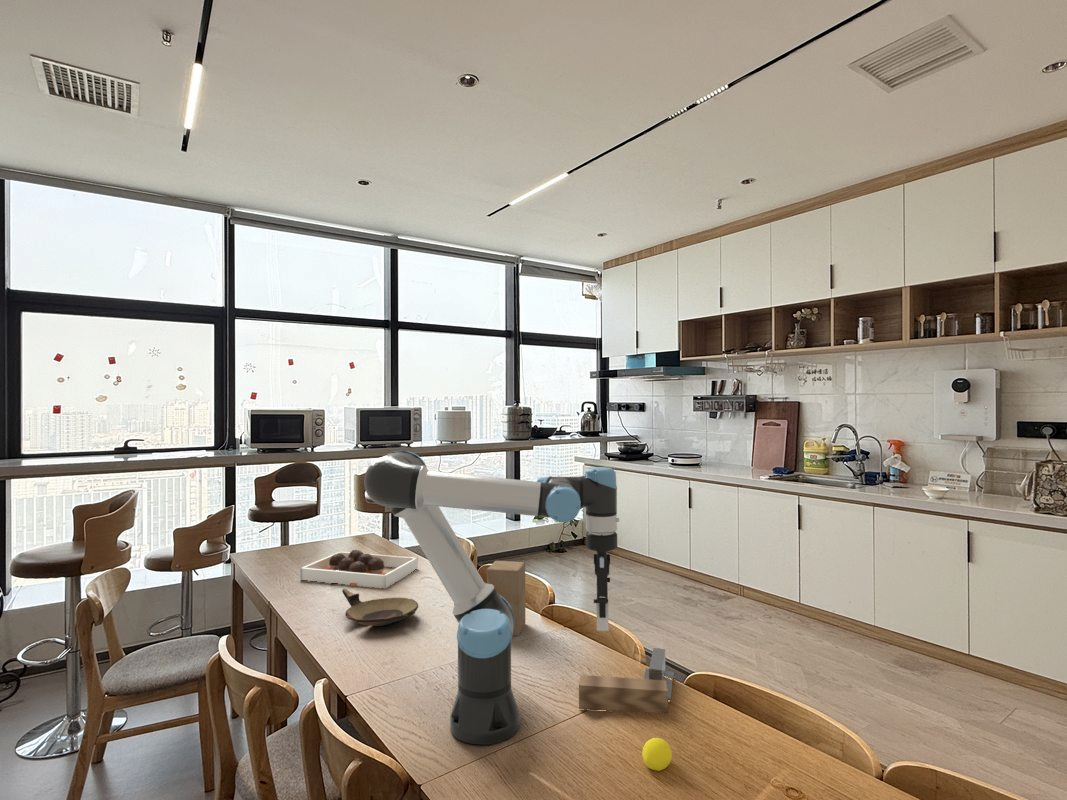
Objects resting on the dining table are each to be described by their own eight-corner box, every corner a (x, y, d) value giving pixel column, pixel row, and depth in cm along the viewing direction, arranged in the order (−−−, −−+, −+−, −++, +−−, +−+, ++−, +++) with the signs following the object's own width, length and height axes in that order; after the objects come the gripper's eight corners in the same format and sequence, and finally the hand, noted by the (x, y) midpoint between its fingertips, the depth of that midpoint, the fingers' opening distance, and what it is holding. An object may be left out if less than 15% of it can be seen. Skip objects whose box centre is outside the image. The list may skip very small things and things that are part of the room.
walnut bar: (665, 705, 136) (665, 680, 136) (667, 717, 131) (667, 691, 131) (580, 700, 139) (580, 674, 139) (578, 711, 134) (578, 685, 134)
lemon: (659, 782, 109) (658, 753, 109) (635, 769, 113) (635, 741, 113) (679, 765, 114) (679, 738, 114) (655, 754, 117) (655, 727, 117)
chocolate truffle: (322, 573, 243) (321, 552, 243) (358, 565, 255) (358, 545, 255) (353, 588, 223) (352, 566, 223) (391, 579, 234) (391, 558, 234)
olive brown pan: (363, 643, 172) (363, 617, 172) (329, 614, 196) (329, 591, 196) (431, 625, 185) (431, 601, 185) (392, 599, 209) (392, 578, 209)
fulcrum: (670, 702, 137) (670, 673, 137) (640, 698, 139) (640, 669, 139) (673, 675, 150) (673, 648, 150) (646, 672, 152) (645, 645, 152)
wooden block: (518, 637, 175) (518, 570, 175) (486, 634, 177) (486, 569, 177) (525, 624, 185) (525, 561, 185) (495, 622, 187) (495, 560, 187)
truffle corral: (385, 589, 221) (385, 575, 221) (300, 580, 231) (300, 568, 231) (417, 569, 245) (417, 557, 245) (339, 562, 256) (339, 551, 256)
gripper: (618, 544, 128) (619, 641, 128) (616, 520, 153) (617, 601, 153) (584, 544, 129) (585, 639, 129) (587, 520, 154) (588, 600, 154)
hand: (602, 619), depth 141 cm, fingers open, 13 cm apart
